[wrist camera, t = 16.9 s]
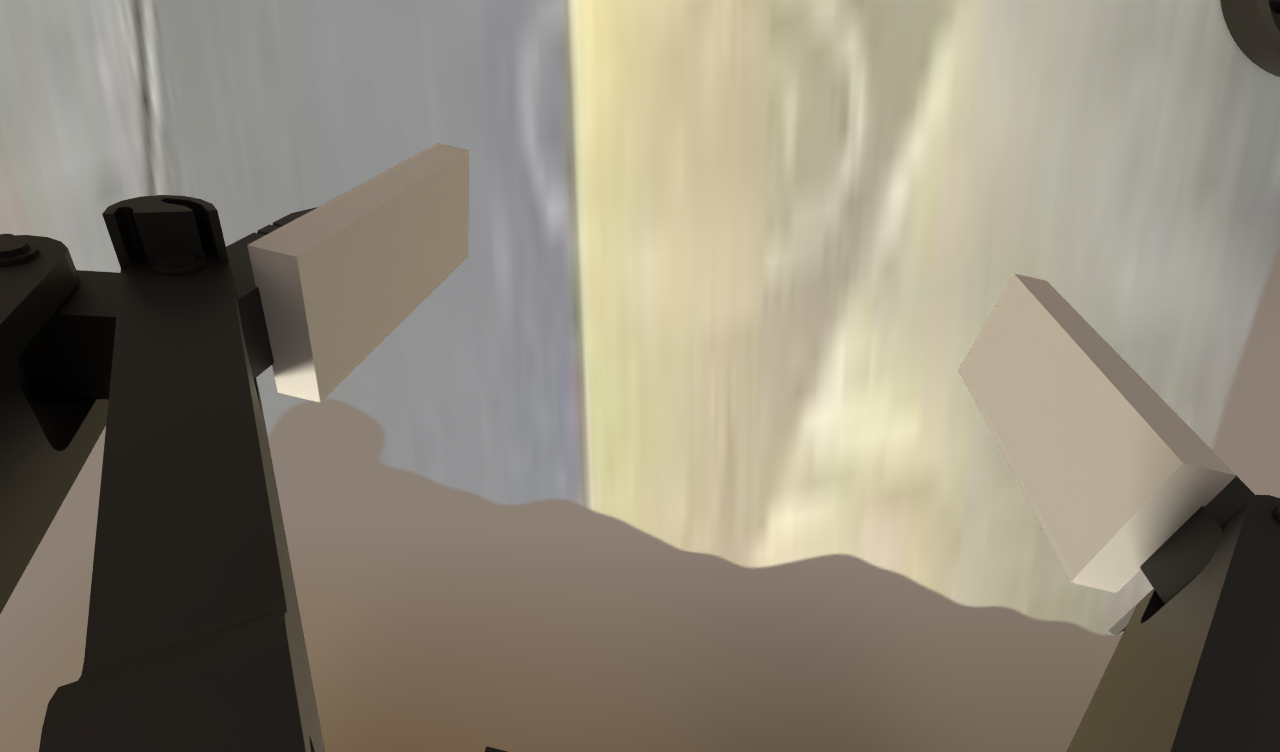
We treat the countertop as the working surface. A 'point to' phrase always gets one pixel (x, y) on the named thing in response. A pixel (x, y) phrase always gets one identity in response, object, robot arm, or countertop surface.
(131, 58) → the countertop surface
